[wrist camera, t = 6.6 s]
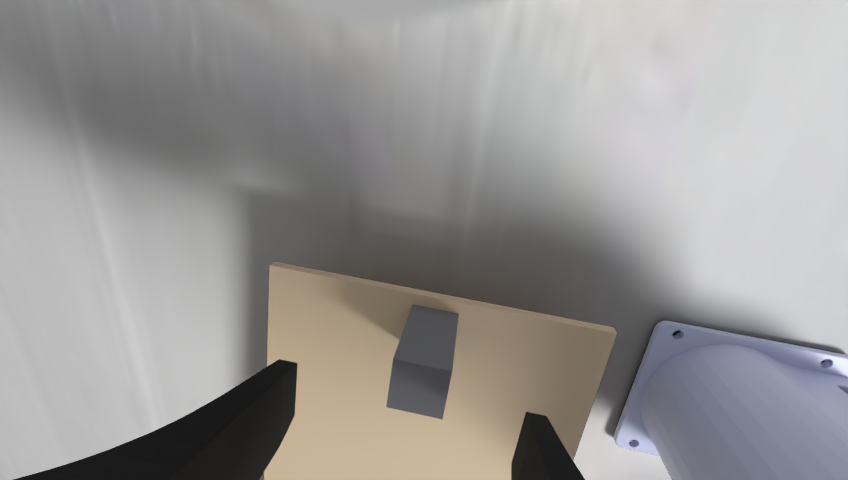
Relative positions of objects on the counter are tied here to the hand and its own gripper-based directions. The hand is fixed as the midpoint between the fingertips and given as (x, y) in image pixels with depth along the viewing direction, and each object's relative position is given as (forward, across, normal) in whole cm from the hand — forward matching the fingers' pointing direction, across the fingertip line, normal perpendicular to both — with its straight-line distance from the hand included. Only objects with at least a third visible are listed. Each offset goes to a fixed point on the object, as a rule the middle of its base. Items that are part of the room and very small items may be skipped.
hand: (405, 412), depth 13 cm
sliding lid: (+6, 0, +7) cm, 9 cm away
